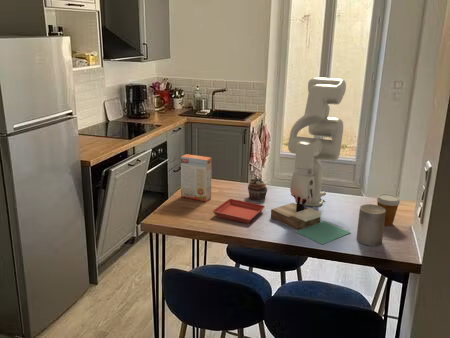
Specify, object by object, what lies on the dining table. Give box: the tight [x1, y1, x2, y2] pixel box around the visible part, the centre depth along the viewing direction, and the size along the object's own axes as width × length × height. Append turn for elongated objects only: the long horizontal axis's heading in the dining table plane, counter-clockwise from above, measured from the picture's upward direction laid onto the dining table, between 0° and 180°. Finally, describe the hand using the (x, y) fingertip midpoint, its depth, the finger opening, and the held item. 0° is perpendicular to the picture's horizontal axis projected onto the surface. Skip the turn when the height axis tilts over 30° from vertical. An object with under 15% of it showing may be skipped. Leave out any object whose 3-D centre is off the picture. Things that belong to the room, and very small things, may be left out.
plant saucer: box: [212, 198, 265, 224], centre depth 193 cm, size 18×18×3 cm
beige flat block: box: [295, 207, 322, 222], centre depth 182 cm, size 9×6×2 cm, turn 127°
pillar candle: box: [356, 203, 386, 247], centre depth 169 cm, size 10×10×15 cm
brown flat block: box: [270, 202, 321, 231], centre depth 188 cm, size 14×16×4 cm
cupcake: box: [247, 177, 268, 201], centre depth 213 cm, size 10×10×10 cm
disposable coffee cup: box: [376, 193, 401, 227], centre depth 187 cm, size 10×10×12 cm
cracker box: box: [180, 153, 213, 202], centre depth 209 cm, size 14×6×21 cm, turn 65°
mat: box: [294, 221, 351, 245], centre depth 177 cm, size 18×14×1 cm
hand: (299, 211), depth 186 cm, fingers closed
